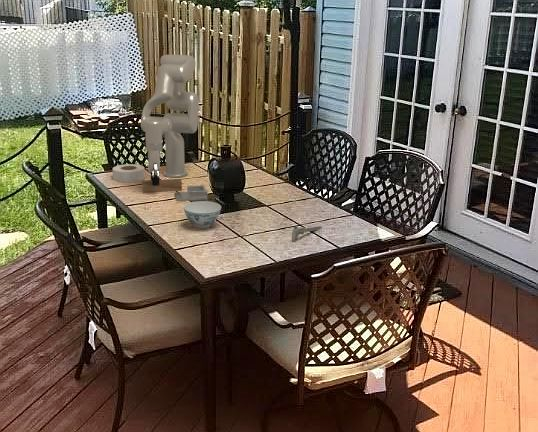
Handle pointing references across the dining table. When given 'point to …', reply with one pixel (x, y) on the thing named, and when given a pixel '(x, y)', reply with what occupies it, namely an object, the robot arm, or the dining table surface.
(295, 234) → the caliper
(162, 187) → the walnut rail
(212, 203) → the chinaware
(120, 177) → the roll of tape
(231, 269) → the dining table surface
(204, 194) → the cup bracket
